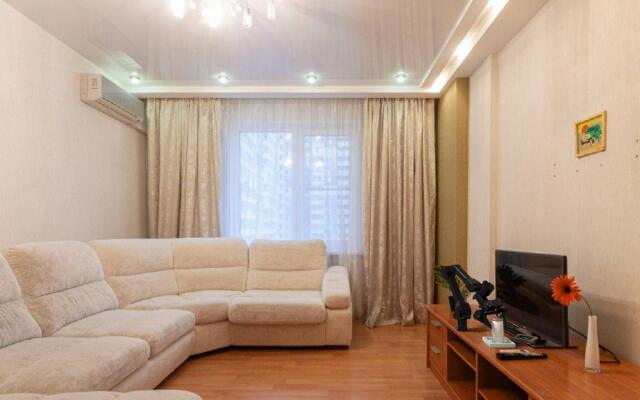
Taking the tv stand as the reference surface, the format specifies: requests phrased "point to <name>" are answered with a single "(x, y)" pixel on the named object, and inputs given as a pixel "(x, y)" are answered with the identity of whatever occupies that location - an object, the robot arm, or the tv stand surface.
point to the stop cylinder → (497, 330)
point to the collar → (523, 341)
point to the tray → (506, 344)
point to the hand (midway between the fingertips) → (499, 327)
